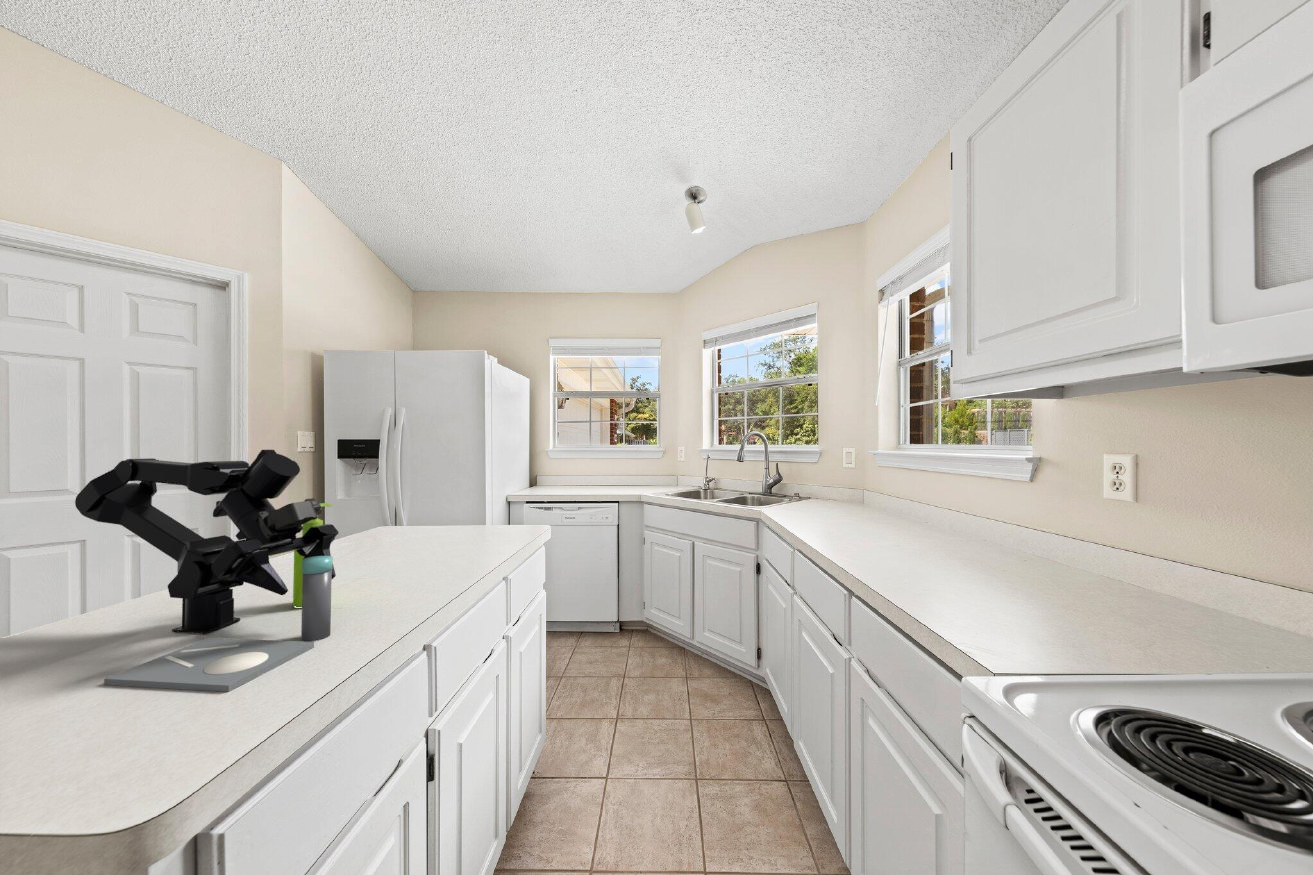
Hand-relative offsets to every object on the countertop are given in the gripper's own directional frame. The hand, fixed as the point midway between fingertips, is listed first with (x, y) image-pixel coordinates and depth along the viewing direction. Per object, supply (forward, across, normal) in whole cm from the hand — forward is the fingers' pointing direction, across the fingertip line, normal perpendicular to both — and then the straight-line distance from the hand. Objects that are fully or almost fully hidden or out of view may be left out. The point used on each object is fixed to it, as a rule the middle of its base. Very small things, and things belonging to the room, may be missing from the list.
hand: (310, 585), depth 81 cm
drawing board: (+3, -12, +9) cm, 15 cm away
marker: (+7, 0, +5) cm, 9 cm away
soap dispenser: (-4, +15, +16) cm, 22 cm away
